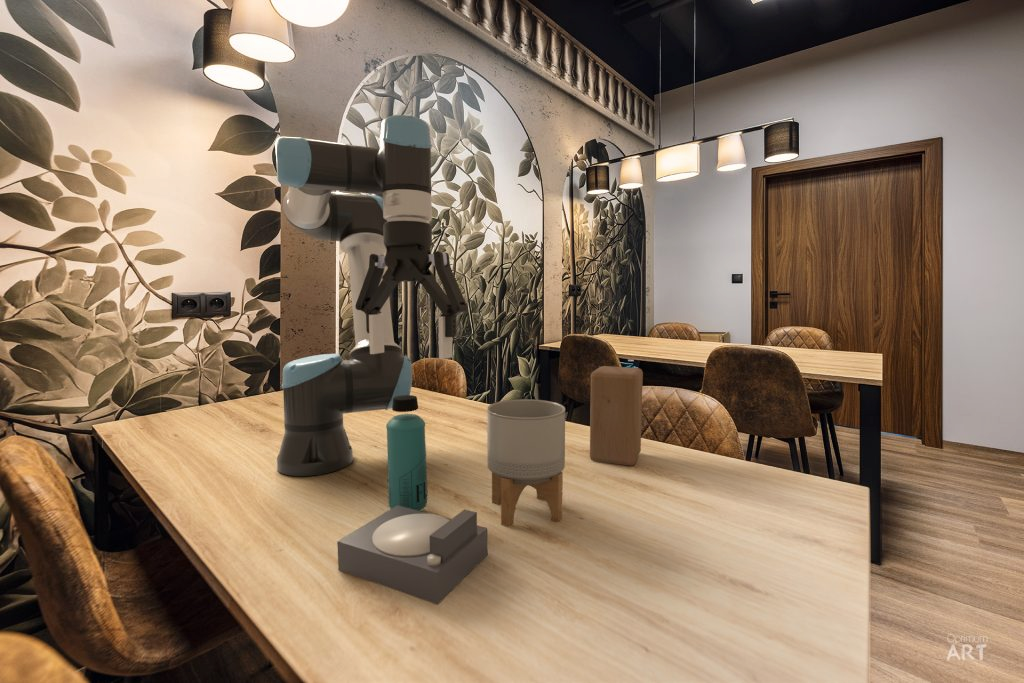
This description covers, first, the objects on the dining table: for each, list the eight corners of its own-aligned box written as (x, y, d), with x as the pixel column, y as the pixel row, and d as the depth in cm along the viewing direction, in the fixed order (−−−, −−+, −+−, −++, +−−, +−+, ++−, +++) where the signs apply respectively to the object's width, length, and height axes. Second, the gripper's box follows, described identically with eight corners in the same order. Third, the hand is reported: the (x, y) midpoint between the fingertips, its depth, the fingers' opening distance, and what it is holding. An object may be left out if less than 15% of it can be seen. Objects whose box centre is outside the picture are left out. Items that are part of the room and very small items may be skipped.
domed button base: (338, 569, 63) (336, 519, 62) (397, 529, 74) (396, 486, 73) (437, 604, 56) (436, 548, 55) (487, 554, 67) (487, 507, 66)
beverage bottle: (419, 525, 75) (416, 401, 73) (380, 521, 77) (377, 399, 75) (434, 507, 82) (432, 393, 80) (398, 503, 83) (395, 391, 81)
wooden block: (588, 461, 104) (590, 371, 102) (598, 448, 113) (599, 365, 111) (635, 467, 100) (637, 374, 98) (641, 453, 110) (643, 367, 108)
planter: (541, 537, 72) (541, 422, 70) (472, 516, 78) (471, 410, 77) (576, 505, 83) (578, 404, 81) (513, 489, 89) (513, 396, 88)
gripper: (330, 223, 77) (335, 353, 79) (463, 213, 66) (465, 363, 69) (362, 229, 83) (366, 349, 86) (488, 220, 73) (489, 357, 75)
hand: (410, 355), depth 77 cm, fingers open, 13 cm apart
